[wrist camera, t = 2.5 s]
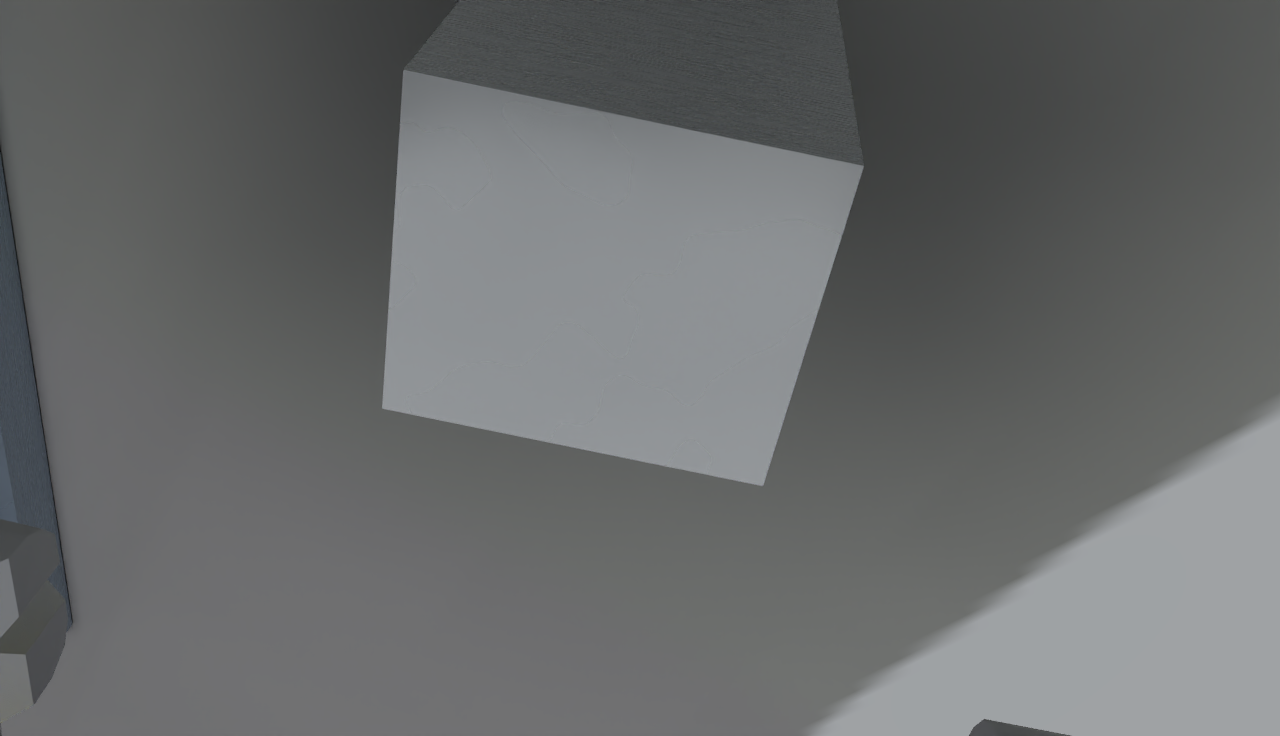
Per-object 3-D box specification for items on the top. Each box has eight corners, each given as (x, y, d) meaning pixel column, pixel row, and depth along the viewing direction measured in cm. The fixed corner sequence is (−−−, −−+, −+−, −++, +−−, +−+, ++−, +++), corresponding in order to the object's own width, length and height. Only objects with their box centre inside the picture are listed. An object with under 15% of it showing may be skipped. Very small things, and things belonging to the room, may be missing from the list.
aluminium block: (526, -83, 20) (403, 70, 13) (833, -18, 20) (864, 165, 13) (497, 175, 23) (382, 408, 16) (766, 231, 23) (763, 486, 16)
